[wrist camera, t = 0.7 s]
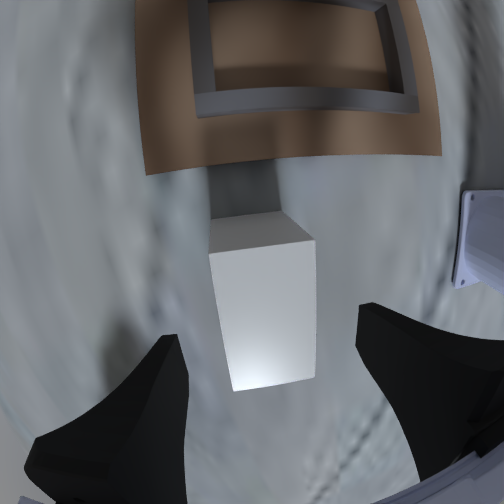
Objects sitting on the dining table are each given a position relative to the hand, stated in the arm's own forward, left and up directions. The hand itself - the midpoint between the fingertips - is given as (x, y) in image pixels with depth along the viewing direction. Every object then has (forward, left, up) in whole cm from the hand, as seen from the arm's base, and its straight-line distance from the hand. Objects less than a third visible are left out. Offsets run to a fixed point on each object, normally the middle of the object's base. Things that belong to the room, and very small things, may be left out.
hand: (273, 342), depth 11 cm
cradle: (-4, -13, -7) cm, 15 cm away
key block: (0, 0, -7) cm, 7 cm away
